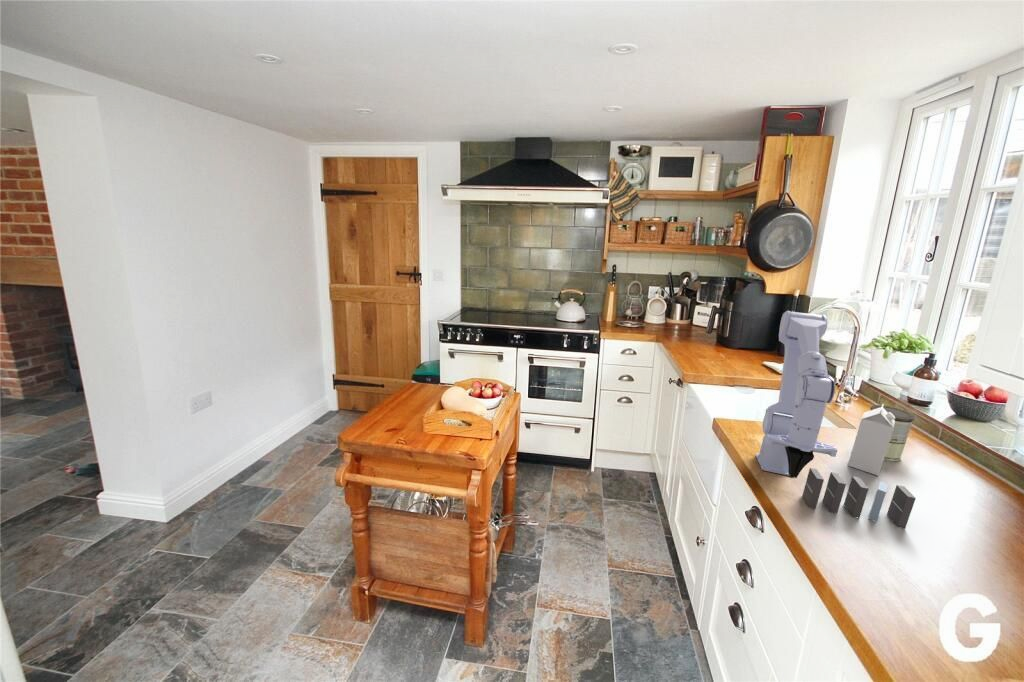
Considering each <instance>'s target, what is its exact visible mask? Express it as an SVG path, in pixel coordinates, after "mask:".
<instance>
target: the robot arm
mask: <svg viewBox="0 0 1024 682" xmlns="http://www.w3.org/2000/svg"><path fill="white" fill-rule="evenodd" d="M827 329H828V318H827V316H826V315H825V314H814V313H806V312H797V311H790V310H786V311H785V312H783V313H782V316H781V320H780V324H779V329H778V330H779V332H778V342H781V343H782V344H783V345H784V355H783V356H784V358H783V365H782V372H781V380H780V386H779V387H780V388H779V395H778V402H776V403H773V404H771V405H769V406H767V408H766V409H765V413H764V417H763V421H762V431H763V434H764V436H763V438H762V441H761V446H760V451H759V453H755V458H756V459H757V462H758V464H759V466H760V468H761V470H762V471H765V472H769V473H775V474H779V475H784V476H790V477H789V478H794V479H797V478H798V476H799V475H800V473H801V472H802V470H803V469H804V468H805V467H806V466H807V465H808V464H809V463H810V462H811V461H813V460H814V459H815V455H814V453H819V454H823V455H828V456H830V457H834V458H835V457H836V456H837V453H838V449H837V448H836V446H835V445H831V444H826V443H822V442H819V441H818V437H819V433H820V430H821V427H822V424H823V423H822V422H823V419H824V415H825V412H826V408H827V404H830V403H832V401H833V399H834V397H835V391H836V383H835V380H834V378H833V377H832V376H831V375H829V373H828V368H827V362H826V357H825V356H824V355H823V354H821V353H820V340H821V339H822V337H823V336H824V335H825V334H826V331H827Z"/></svg>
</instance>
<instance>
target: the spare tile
mask: <svg viewBox="0 0 1024 682" xmlns="http://www.w3.org/2000/svg"><path fill="white" fill-rule="evenodd" d="M888 485H889V484H888V483H886V482H883V481H879V483H878V487H877V489H876V490H877V491H876V492H875V495H874V499H873V502H872V505H871V509H870V511H869V515H868V518H869V519H872V520H874V521H878V519H879V515H880V513H881V512H880V511H881V510H882V506H883V504H884V501H885V500H884V499H885V496H886V494H887V490H888V487H889V486H888ZM869 519H868V520H869ZM872 520H871V521H872ZM874 521H873V522H874Z"/></svg>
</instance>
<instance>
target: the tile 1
mask: <svg viewBox="0 0 1024 682" xmlns="http://www.w3.org/2000/svg"><path fill="white" fill-rule="evenodd" d="M824 481H825V479H824V477H823V476H822V475H821V473H820V472H819V470H818V469H817V468H812V467H809V470H808V474H807V478H806V481H805V485H804V488H803V492H802V495H801V496H802V499H803V501H804V502H805V504H806V505H807V507H808V508H810V509H813V510H816V509H817V507H818V506H817V505H818V503H819V499H820V497H821V496H820V495H821V492H822V488H823V484H824Z"/></svg>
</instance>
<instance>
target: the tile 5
mask: <svg viewBox="0 0 1024 682" xmlns="http://www.w3.org/2000/svg"><path fill="white" fill-rule="evenodd" d="M915 502H916V497H915V495H913V494H912V493H911V491H910V490H908V489H907V488H906V486H904V485H900V484H899V485H898V484H896V486H895V489H894V491H893V495H892V498H891V500H890V504H889V507H888V509H887V513H886V515H887V514H888V515H889V516H890V517H889V516H888V515H887V516H888V517H889V518H891V519H892V520H893V521H892V520H891V519H890V520H891V521H892V522H893V523H894V524H896V525H897V526H896V525H895V526H896V527H897V528H900V527H901V529H906V527H907V525H908V521H909V518H910V517H911V513H912V510H913V507H914V505H915Z"/></svg>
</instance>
